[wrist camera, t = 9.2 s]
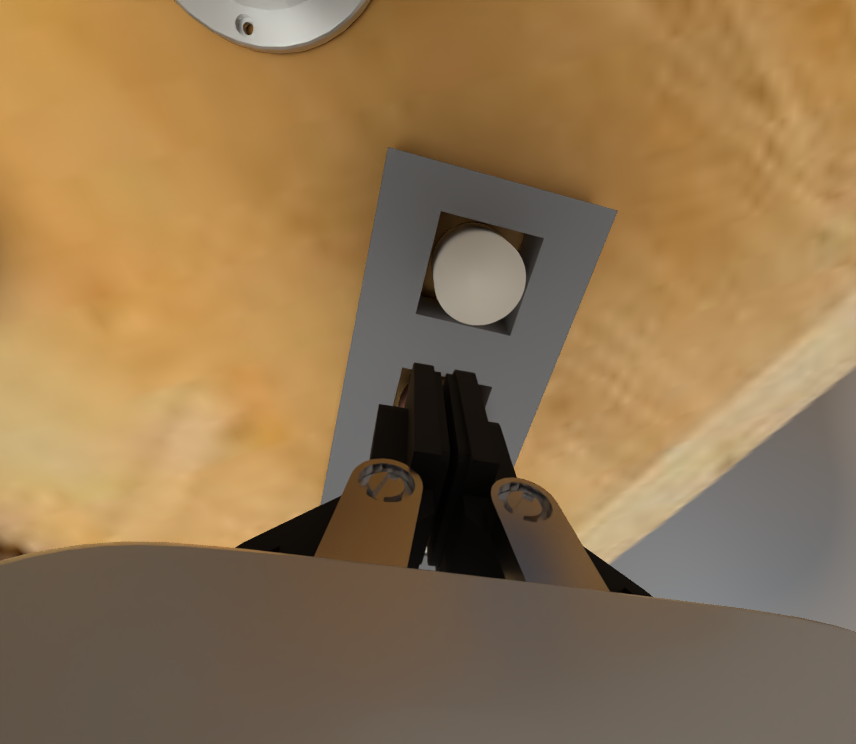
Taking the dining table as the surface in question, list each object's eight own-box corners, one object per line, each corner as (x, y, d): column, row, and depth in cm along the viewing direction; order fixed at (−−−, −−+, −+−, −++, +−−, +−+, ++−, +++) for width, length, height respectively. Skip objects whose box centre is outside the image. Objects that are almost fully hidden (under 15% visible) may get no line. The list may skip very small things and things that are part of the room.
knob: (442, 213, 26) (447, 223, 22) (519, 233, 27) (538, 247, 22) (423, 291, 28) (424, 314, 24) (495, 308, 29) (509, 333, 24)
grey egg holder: (392, 149, 25) (388, 146, 21) (590, 204, 26) (617, 210, 23) (321, 519, 36) (310, 559, 33) (461, 543, 38) (466, 584, 34)
